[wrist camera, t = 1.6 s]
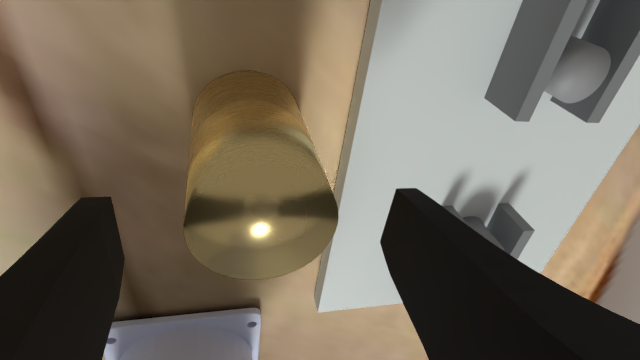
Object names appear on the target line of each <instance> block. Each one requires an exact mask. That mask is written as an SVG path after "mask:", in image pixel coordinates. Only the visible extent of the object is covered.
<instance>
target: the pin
mask: <svg viewBox="0 0 640 360" xmlns="http://www.w3.org/2000/svg"><path fill="white" fill-rule="evenodd" d="M338 218H339V216H338V206H337V202H336V200H335V197H334V195H333V192H332V190H331V187H330V185H329V183H328V180H327V178H326V175H325V173H324V170H323V168H322V165H321V163H320V160H319V158H318V155H317V153H316V150H315V148H314V146H313V143H312V141H311V138H310V136H309V133H308V131H307V128H306V126H305V123H304V121H303V118H302V116H301V114H300V111H299V109H298V106H297V104H296V101H295V99H294V97H293V95H292V94H291V92H290V91H289V90H288V89H287V88H286V87H285V86H284V85H283V84H282V83H281V82H280V81H278V80H277V79H275V78H273V77H271V76H269V75H266V74H264V73H260V72H255V71H237V72H232V73H228V74H225V75H223V76H221V77H219V78H217V79H215V80H213V81H212V82H211V83H210V84H208V85H207V86H206V87H205V88H204V89H203V91H202V92H201V93H200V95H199V96H198V98H197V100H196V102H195V105H194V109H193V115H192V127H191V139H190V152H189V164H188V176H187V189H186V201H185V213H184V238H185V241H186V244H187V247H188V249H189V250H190V252H191V254H192V255H193V256H194V257H195V258H196V260H198V261H199V262H200V263H201V264H202V265H203V266H205V267H207V268H208V269H210V270H212V271H214V272H216V273H218V274H221V275H223V276H227V277H231V278H236V279H243V280H261V279H269V278H274V277H278V276H282V275H285V274H288V273H291V272H293V271H295V270H298V269H299V268H301V267H303V266H305V265H307V264H308V263H310V262H311V261H312V260H314V259H315V258H316V257H318V256H319V255H320V254H321V253H322V252H323V251H324V249H325V248H326V247H327V246H328V244H329V243H330V241H331V240H332V238H333V236H334V234H335V232H336V228H337V225H338Z"/></svg>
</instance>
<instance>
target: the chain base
mask: <svg viewBox="0 0 640 360" xmlns="http://www.w3.org/2000/svg"><path fill="white" fill-rule="evenodd" d="M639 124H640V0H371V1H370V6H369V11H368V17H367V22H366V27H365V32H364V38H363V43H362V48H361V53H360V59H359V64H358V69H357V74H356V80H355V85H354V90H353V95H352V101H351V106H350V111H349V116H348V122H347V127H346V132H345V137H344V143H343V148H342V153H341V158H340V164H339V169H338V174H337V179H336V185H335V190H334V197H335V200H336V202H337V206H338V216H339V218H338V225H337V228H336V232H335V234H334V236H333V238H332V240H331V241H330V243H329V244H328V246H327V247H326V248H325V249H324V251H323V253H322V258H321V264H320V269H319V274H318V279H317V285H316V290H315V295H314V300H315V303H316V307H317V311H318V312H327V311H336V310H345V309H354V308H363V307H372V306H381V305H389V304H398V303H403V302H402V300H401V297H400V295H399V293H398V291H397V289H396V287H395V284H394V282H393V280H392V278H391V275H390V273H389V270H388V267H387V264H386V261H385V258H384V254H383V251H382V247H381V244H380V240H381V236H382V233H383V230H384V227H385V223H386V220H387V217H388V214H389V210H390V207H391V204H392V200H393V197H394V194H395V191H396V189H398V188H417V189H418V190H420V191H421V192H423V193H424V194H426V195H427V196H429V197H430V198H432V199H433V200H434V201H436V202H437V203H438V204H440V205H441V206H442V207H444V208H445V209H446V210H448V211H449V212H450V213H452V214H453V215H455V216H456V217H457V218H459V219H460V220H461V221H463V222H464V223H465V224H467V225H468V226H469V227H471V228H472V229H473V230H475V231H476V232H478V233H479V234H480V235H482V236H483V237H485V238H486V239H487V240H489V241H490V242H492V243H493V244H495V245H496V246H498V247H499V248H501V249H502V250H504V251H505V252H507V253H508V254H510V255H511V256H513V257H514V258H516V259H517V260H519V261H520V262H522V263H523V264H525V265H527V266H528V267H530V268H532V269H533V270H535V271H537V272H538V273H541V271H542V270H543V268H544V267H545V265H546V264H547V262H548V261H549V259H550V258H551V256H552V255H553V253H554V252H555V250H556V249H557V247H558V246H559V244H560V243H561V241H562V240H563V238H564V237H565V235H566V234H567V232H568V231H569V229H570V228H571V226H572V225H573V223H574V222H575V220H576V219H577V217H578V216H579V214H580V213H581V211H582V210H583V208H584V207H585V205H586V204H587V202H588V201H589V199H590V198H591V196H592V195H593V193H594V192H595V190H596V189H597V187H598V186H599V184H600V183H601V181H602V180H603V178H604V177H605V175H606V174H607V172H608V171H609V169H610V168H611V166H612V165H613V163H614V162H615V160H616V159H617V157H618V156H619V154H620V153H621V151H622V150H623V148H624V147H625V145H626V144H627V142H628V141H629V139H630V138H631V136H632V135H633V133H634V132H635V130H636V129H637V127H638V126H639Z"/></svg>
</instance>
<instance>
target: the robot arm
mask: <svg viewBox="0 0 640 360" xmlns="http://www.w3.org/2000/svg"><path fill="white" fill-rule="evenodd" d="M380 244H381V247H382V251H383V254H384V258H385V261H386V264H387V267H388V270H389V273H390V275H391V278H392V280H393V282H394V284H395V287H396V289H397V291H398V293H399V295H400V297H401V300H402V302H403V304H404V306H405V308H406V310H407V312H408V314H409V317H410V319H411V321H412V323H413V325H414V327H415V329H416V331H417V333H418V336H419V338H420V340H421V342H422V344H423V346H424V349H425V351H426V354H427V356H428V358H429V360H640V324H638V323H635V322H633V321H631V320H629V319H627V318H625V317H623V316H620V315H618V314H616V313H614V312H611V311H610V310H608V309H605V308H603V307H602V306H600V305H598V304H596V303H594V302H592V301H590V300H588V299H586V298H584V297H582V296H580V295H578V294H576V293H574V292H572V291H570V290H568V289H566V288H564V287H563V286H561V285H559V284H557V283H556V282H554V281H552V280H550V279H549V278H547V277H545V276H544V275H542V274H540V273H538V272H537V271H535V270H533V269H532V268H530V267H528V266H527V265H525V264H523V263H522V262H520V261H519V260H517V259H516V258H514V257H513V256H511V255H510V254H508V253H507V252H505V251H504V250H502V249H501V248H499V247H498V246H496V245H495V244H493V243H492V242H490V241H489V240H487V239H486V238H485V237H483V236H482V235H480V234H479V233H478V232H476V231H475V230H473V229H472V228H471V227H469V226H468V225H467V224H465V223H464V222H463V221H461V220H460V219H459V218H457V217H456V216H455V215H453V214H452V213H450V212H449V211H448V210H446V209H445V208H444V207H442V206H441V205H440V204H438V203H437V202H436V201H434V200H433V199H432V198H430V197H429V196H427V195H426V194H424V193H423V192H421V191H420V190H418V189H417V188H398V189H396V191H395V194H394V197H393V200H392V204H391V207H390V210H389V214H388V217H387V220H386V223H385V227H384V230H383V233H382V236H381V240H380ZM124 259H125V258H124V254H123V249H122V245H121V240H120V236H119V231H118V227H117V222H116V218H115V213H114V209H113V204H112V200H111V197H87V198H81V199H80V200H78V201H77V202H76V203H75V204H74V205H73V206H72V207H71V208H70V209H69V210H68V211H67V212H66V213H65V214H64V215H63V216H62V217H61V218H60V219H59V220H58V221H57V222H56V223H55V224H54V225H53V226H52V227H51V228H50V229H49V230H48V231H47V232H46V233H45V234H44V235H43V236H42V237H41V238H40V239H39V240H38V241H37V242H36V243H35V244H34V245H33V246H32V247H31V248H30V249H29V250H28V251H27V252H26V253H25V254H24V255H23V256H22V257H20V258H19V259H18V260H17V261H16V262H15V263H14V264H13V265H12V266H11V267H10V268H9V269H8V270H7V271H6V272H5V273H3V274H2V275H1V276H0V360H102V357H103V354H104V356H105V359H106V360H258V356H259V343H260V330H261V311H260V310H259V309H258V308H243V309H234V310H224V311H214V312H205V313H195V314H186V315H176V316H166V317H157V318H147V319H137V320H128V321H118V322H113V318H114V314H115V311H116V307H117V303H118V300H119V294H120V288H121V281H122V274H123V267H124Z"/></svg>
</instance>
